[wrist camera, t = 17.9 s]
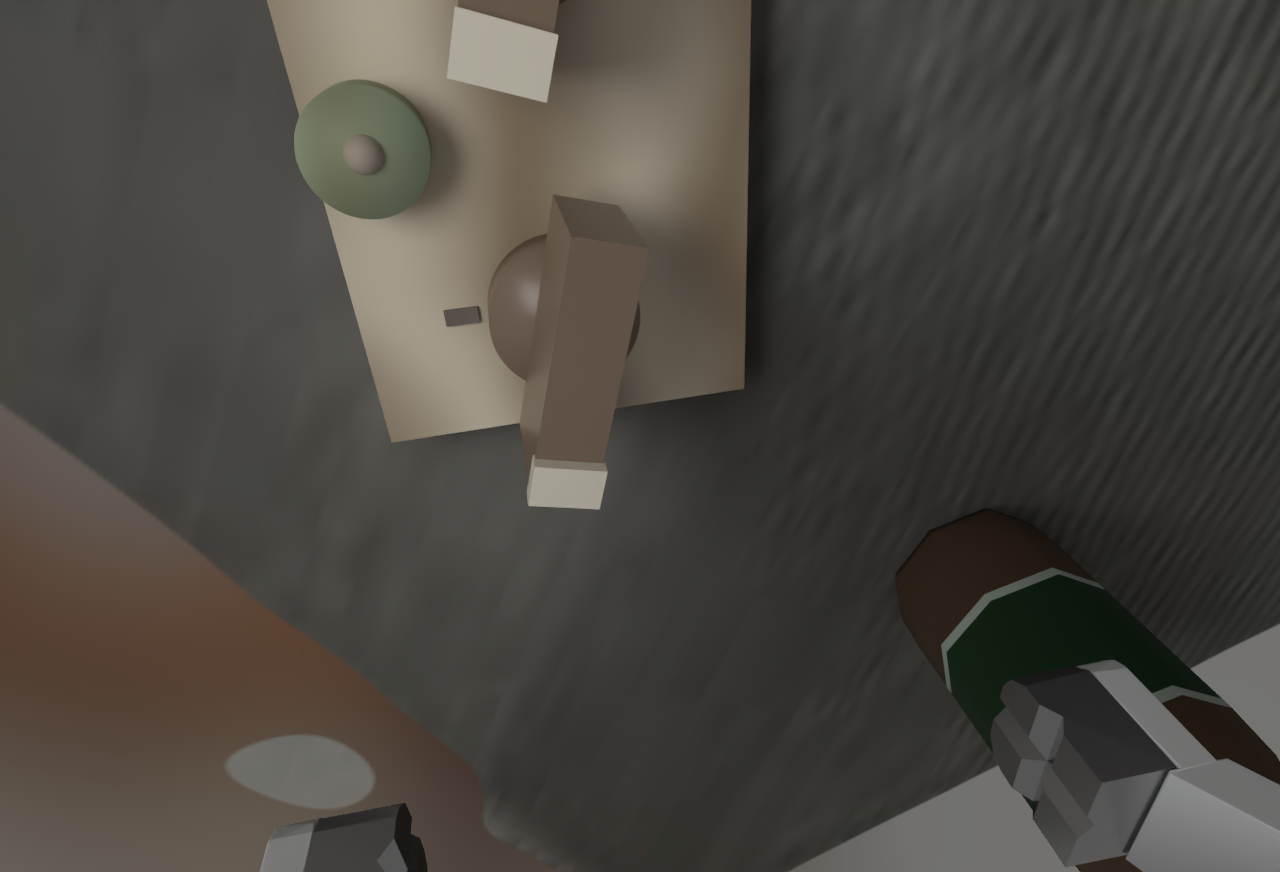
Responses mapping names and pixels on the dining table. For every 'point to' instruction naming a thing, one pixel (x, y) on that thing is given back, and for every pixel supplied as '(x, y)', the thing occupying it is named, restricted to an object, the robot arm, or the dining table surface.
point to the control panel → (525, 187)
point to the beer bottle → (1045, 634)
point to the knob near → (505, 45)
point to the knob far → (569, 342)
